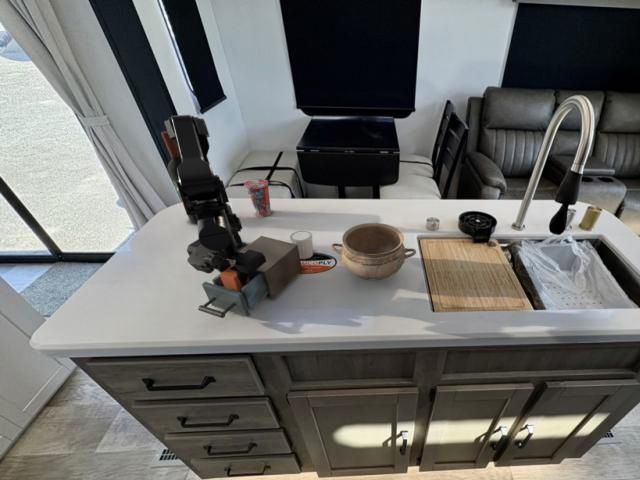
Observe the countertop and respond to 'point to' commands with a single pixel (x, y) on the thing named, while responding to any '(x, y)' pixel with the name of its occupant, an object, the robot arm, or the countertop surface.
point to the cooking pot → (373, 250)
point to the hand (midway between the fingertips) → (236, 281)
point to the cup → (259, 195)
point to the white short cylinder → (303, 243)
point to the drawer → (234, 296)
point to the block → (232, 280)
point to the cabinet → (276, 262)
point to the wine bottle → (173, 168)
